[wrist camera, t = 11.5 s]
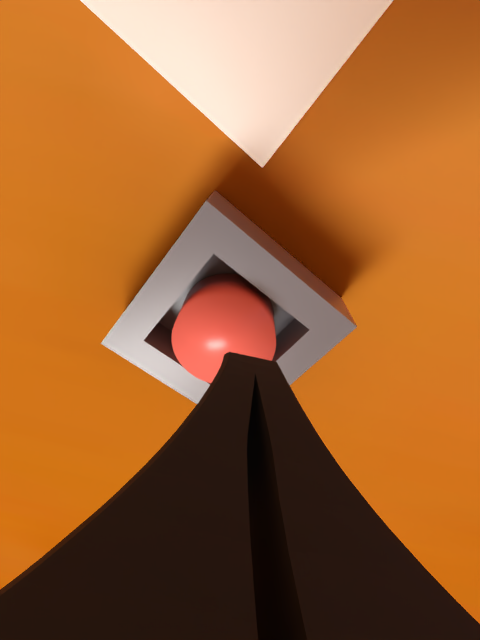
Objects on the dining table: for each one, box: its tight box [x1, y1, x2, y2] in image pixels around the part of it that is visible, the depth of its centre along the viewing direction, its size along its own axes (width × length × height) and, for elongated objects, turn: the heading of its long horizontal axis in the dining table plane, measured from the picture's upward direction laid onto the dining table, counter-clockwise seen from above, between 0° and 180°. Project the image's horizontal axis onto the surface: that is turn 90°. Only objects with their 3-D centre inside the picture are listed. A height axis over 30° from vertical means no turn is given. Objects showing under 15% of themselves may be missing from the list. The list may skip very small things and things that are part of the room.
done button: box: [172, 274, 276, 383], centre depth 15 cm, size 4×4×2 cm
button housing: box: [101, 190, 357, 404], centre depth 16 cm, size 8×8×3 cm
